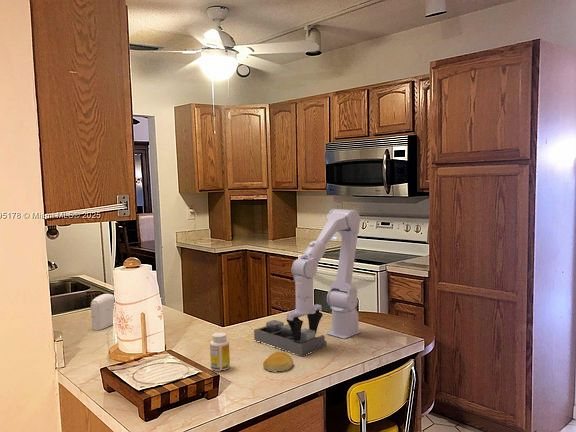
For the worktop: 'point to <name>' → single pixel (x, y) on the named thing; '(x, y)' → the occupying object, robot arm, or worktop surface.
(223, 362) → the supplement bottle
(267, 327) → the rack
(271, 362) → the bread roll
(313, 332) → the grey block
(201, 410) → the worktop surface
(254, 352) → the worktop surface
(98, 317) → the photo printer
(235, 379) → the worktop surface
